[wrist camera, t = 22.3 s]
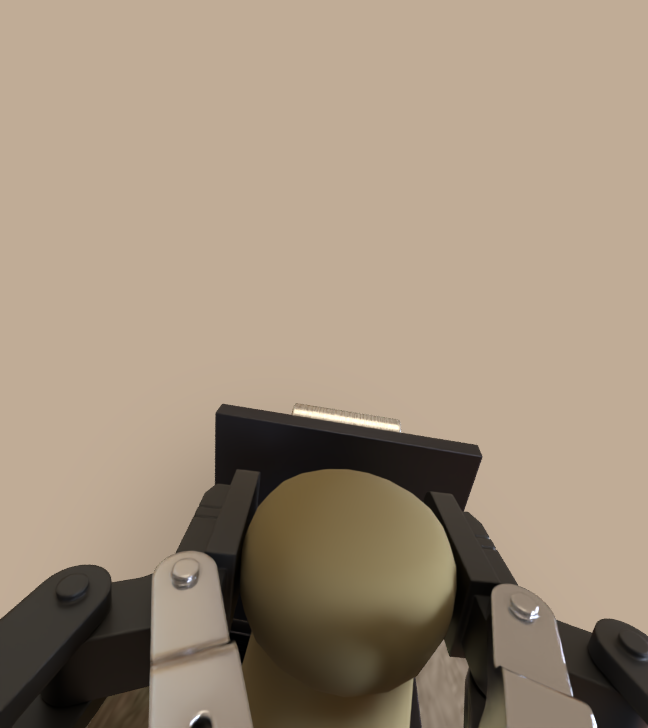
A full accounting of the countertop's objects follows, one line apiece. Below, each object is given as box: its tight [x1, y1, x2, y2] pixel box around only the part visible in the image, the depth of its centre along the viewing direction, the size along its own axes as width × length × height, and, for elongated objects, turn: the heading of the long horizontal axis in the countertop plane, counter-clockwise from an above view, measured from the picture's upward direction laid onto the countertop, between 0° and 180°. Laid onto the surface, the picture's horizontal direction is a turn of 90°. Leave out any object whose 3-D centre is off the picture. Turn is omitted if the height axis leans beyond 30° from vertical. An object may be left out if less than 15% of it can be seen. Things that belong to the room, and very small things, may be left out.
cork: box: [240, 469, 457, 728], centre depth 11 cm, size 6×6×11 cm
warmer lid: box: [215, 403, 482, 621], centre depth 20 cm, size 12×11×5 cm
